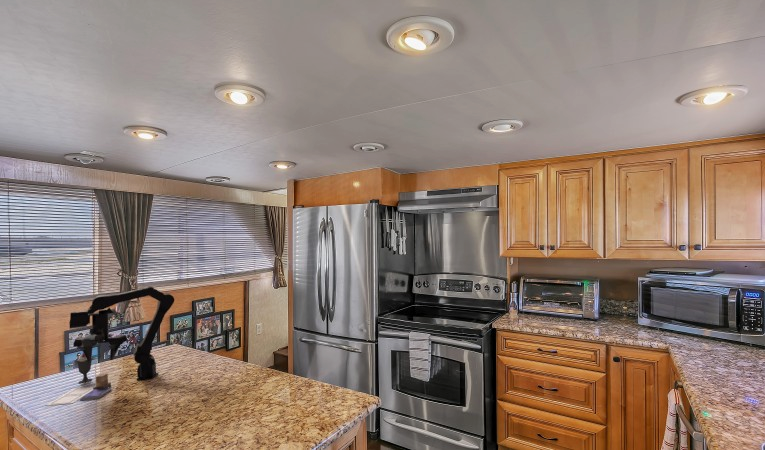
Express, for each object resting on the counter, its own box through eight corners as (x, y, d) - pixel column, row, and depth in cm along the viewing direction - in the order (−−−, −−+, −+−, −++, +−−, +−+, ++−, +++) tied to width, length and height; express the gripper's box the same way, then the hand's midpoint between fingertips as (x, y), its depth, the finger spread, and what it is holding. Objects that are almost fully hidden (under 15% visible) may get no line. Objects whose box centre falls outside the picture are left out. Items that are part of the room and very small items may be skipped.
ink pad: (111, 390, 155) (111, 387, 155) (98, 398, 147) (98, 395, 147) (93, 391, 155) (93, 389, 155) (80, 400, 147) (80, 397, 147)
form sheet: (99, 386, 160) (99, 385, 160) (72, 403, 144) (72, 402, 144) (75, 388, 159) (75, 387, 159) (45, 405, 143) (45, 405, 143)
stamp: (110, 386, 160) (110, 372, 160) (104, 390, 156) (103, 376, 156) (100, 387, 160) (99, 373, 160) (93, 391, 155) (92, 377, 155)
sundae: (84, 384, 163) (82, 351, 163) (72, 384, 165) (70, 351, 165) (98, 378, 170) (97, 346, 170) (86, 378, 171) (85, 346, 171)
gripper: (63, 330, 150) (63, 368, 149) (110, 328, 151) (111, 365, 151) (82, 324, 161) (83, 359, 160) (127, 321, 162) (127, 357, 162)
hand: (100, 360), depth 158 cm, fingers open, 9 cm apart
